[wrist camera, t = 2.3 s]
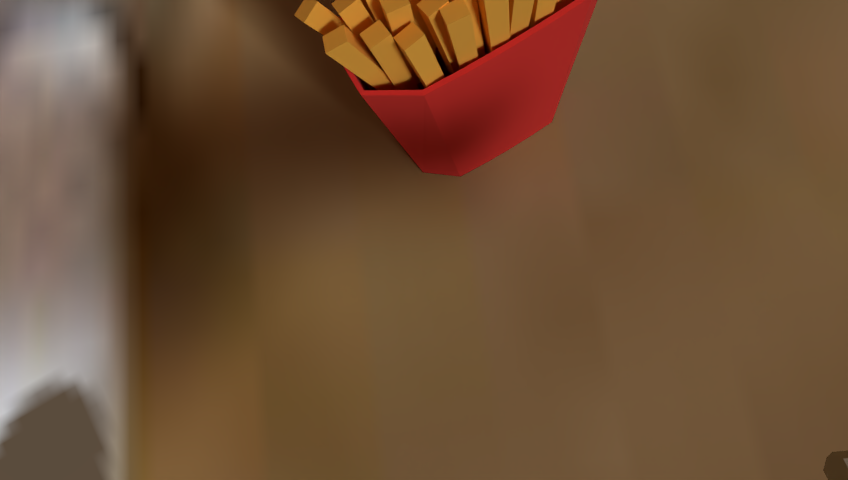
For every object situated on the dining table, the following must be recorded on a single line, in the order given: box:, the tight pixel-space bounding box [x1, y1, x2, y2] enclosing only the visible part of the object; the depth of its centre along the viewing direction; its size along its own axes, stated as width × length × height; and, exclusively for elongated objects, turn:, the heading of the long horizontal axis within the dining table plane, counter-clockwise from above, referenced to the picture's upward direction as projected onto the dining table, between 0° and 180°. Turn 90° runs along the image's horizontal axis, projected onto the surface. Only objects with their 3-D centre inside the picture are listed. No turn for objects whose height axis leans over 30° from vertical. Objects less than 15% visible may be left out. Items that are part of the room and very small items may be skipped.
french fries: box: [294, 0, 597, 176], centre depth 23 cm, size 8×4×12 cm, turn 121°
